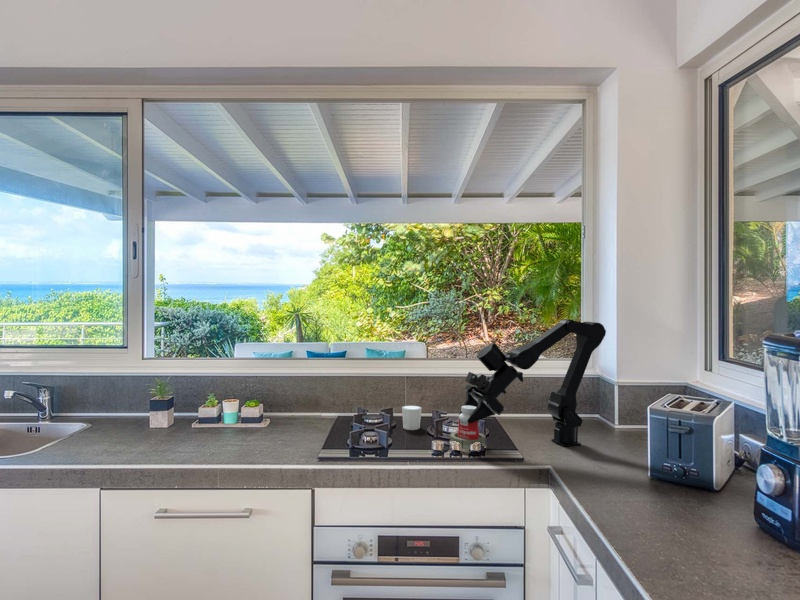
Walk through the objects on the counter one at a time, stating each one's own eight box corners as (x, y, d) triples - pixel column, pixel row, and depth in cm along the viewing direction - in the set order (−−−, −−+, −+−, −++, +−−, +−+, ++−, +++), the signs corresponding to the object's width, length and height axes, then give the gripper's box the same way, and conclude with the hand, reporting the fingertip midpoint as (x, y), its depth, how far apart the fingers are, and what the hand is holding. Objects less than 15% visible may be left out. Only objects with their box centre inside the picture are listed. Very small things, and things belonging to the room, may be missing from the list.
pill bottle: (456, 445, 146) (457, 408, 146) (459, 439, 152) (460, 404, 152) (477, 448, 144) (478, 410, 144) (479, 442, 150) (480, 405, 150)
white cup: (419, 431, 165) (420, 410, 165) (399, 429, 166) (399, 408, 166) (422, 425, 171) (423, 405, 171) (403, 424, 173) (403, 404, 173)
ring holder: (474, 440, 155) (475, 429, 155) (493, 451, 145) (493, 439, 145) (442, 443, 151) (443, 432, 151) (459, 454, 141) (460, 442, 141)
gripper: (471, 358, 158) (437, 394, 156) (494, 367, 140) (456, 407, 137) (494, 383, 159) (460, 418, 157) (519, 394, 141) (482, 435, 139)
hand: (464, 419), depth 148 cm, fingers open, 7 cm apart
